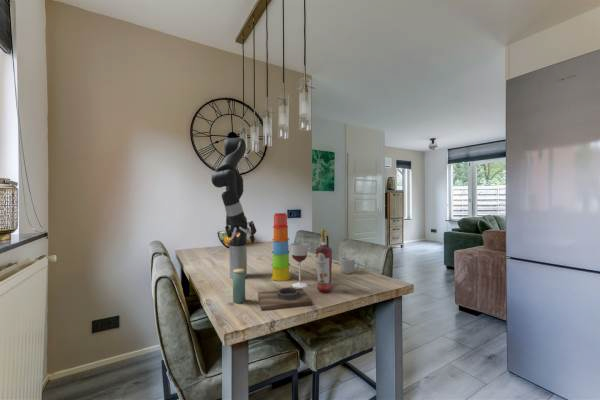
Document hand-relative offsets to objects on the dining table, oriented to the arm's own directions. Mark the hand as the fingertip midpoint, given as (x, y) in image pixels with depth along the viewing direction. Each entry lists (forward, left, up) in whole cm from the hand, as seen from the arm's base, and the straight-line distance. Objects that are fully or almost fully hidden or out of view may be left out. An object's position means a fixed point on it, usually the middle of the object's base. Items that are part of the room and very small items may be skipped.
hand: (245, 243), depth 128 cm
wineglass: (+4, +26, -21) cm, 34 cm away
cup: (-9, +58, -21) cm, 62 cm away
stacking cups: (-10, +19, -21) cm, 30 cm away
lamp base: (+21, +15, -21) cm, 33 cm away
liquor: (+15, +35, -21) cm, 44 cm away
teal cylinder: (+17, -3, -21) cm, 28 cm away
